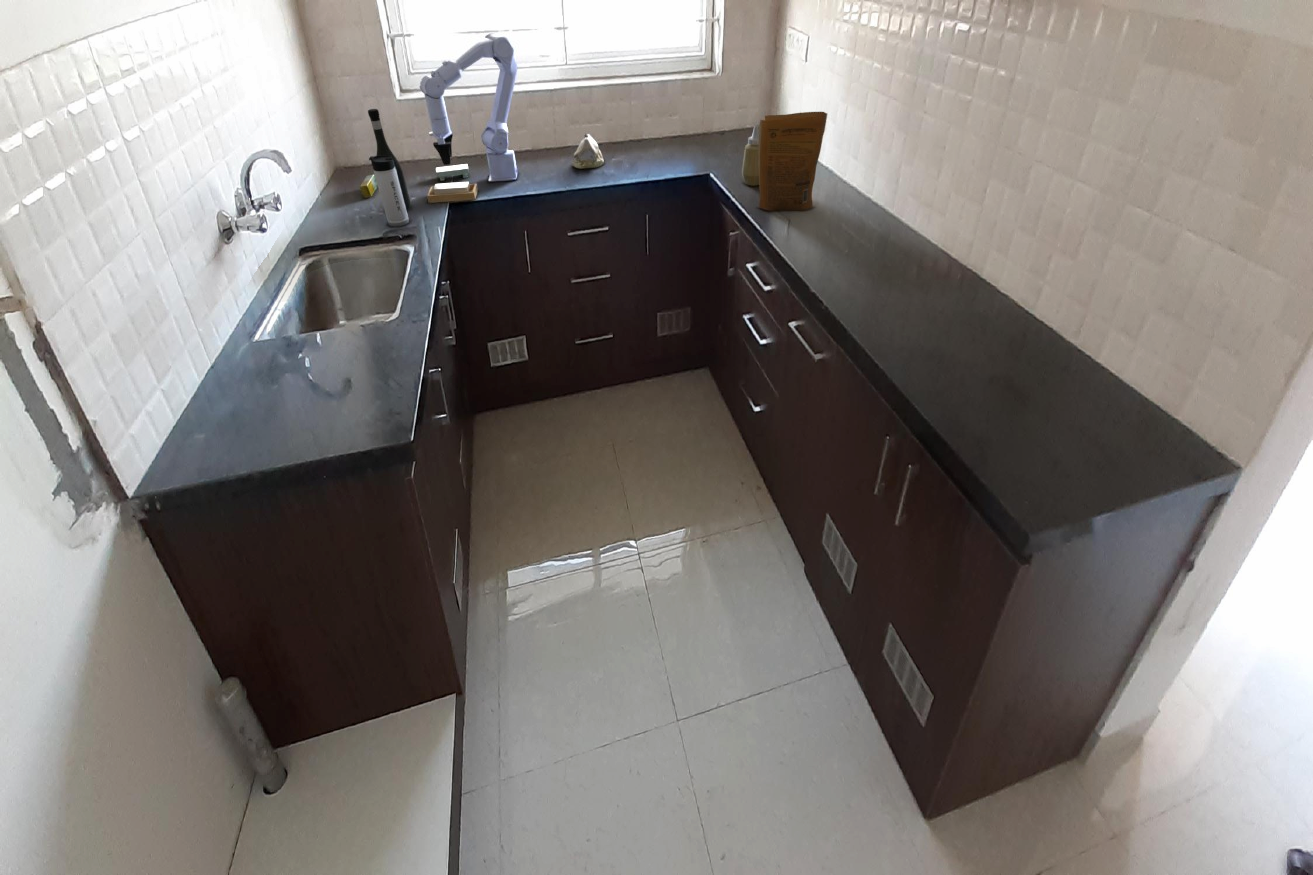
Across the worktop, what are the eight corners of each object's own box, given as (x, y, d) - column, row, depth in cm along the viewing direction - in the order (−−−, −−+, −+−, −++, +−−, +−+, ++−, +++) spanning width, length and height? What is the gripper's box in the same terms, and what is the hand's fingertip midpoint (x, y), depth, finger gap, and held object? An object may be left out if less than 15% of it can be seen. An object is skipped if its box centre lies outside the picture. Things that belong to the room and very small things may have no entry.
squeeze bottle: (768, 180, 238) (772, 123, 227) (761, 188, 232) (764, 130, 221) (745, 178, 241) (748, 121, 230) (737, 185, 235) (739, 128, 224)
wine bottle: (388, 215, 226) (361, 115, 207) (384, 207, 231) (356, 109, 212) (414, 210, 228) (389, 110, 210) (408, 202, 234) (383, 105, 215)
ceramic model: (602, 168, 254) (600, 139, 247) (571, 169, 254) (568, 140, 248) (605, 156, 265) (603, 127, 258) (575, 157, 265) (572, 128, 259)
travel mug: (389, 219, 223) (371, 154, 210) (411, 218, 223) (394, 152, 211) (385, 227, 218) (366, 160, 205) (407, 226, 218) (389, 159, 206)
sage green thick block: (469, 173, 255) (467, 164, 253) (470, 177, 251) (468, 168, 249) (437, 176, 253) (435, 167, 251) (438, 181, 249) (436, 172, 247)
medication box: (371, 186, 248) (366, 175, 245) (378, 185, 248) (374, 173, 245) (363, 198, 238) (359, 186, 236) (371, 196, 238) (367, 185, 236)
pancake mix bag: (818, 212, 215) (829, 114, 197) (754, 213, 216) (759, 115, 199) (816, 204, 220) (826, 107, 202) (754, 205, 221) (758, 108, 204)
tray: (477, 190, 241) (476, 183, 239) (475, 199, 234) (473, 192, 232) (432, 193, 240) (430, 186, 239) (428, 203, 233) (426, 196, 232)
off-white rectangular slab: (470, 191, 239) (468, 181, 237) (468, 196, 235) (466, 187, 233) (437, 193, 238) (435, 184, 236) (435, 199, 234) (433, 189, 232)
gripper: (427, 112, 234) (437, 155, 242) (423, 124, 223) (433, 168, 231) (449, 110, 234) (458, 153, 243) (446, 122, 223) (456, 166, 232)
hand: (447, 160), depth 237 cm, fingers open, 7 cm apart
